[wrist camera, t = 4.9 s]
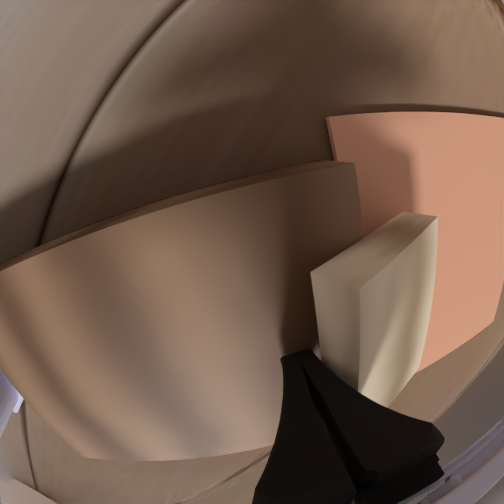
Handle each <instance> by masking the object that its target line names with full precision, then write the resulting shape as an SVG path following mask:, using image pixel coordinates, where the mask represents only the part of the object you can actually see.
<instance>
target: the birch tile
mask: <svg viewBox="0 0 504 504" xmlns="http://www.w3.org/2000/svg"><path fill="white" fill-rule="evenodd" d="M437 241H438V217H437V216H431V215H424V214H417V213H410V212H401V213H400V214H398V215H397V216H396V217H394V218H393V219H391V220H390V221H388V222H387V223H385V224H384V225H382V226H381V227H379V228H378V229H377V230H375V231H374V232H372V233H371V234H369V235H368V236H366V237H365V238H363V239H362V240H360V241H358V242H357V243H355V244H354V245H352V246H351V247H349V248H348V249H346V250H345V251H343V252H342V253H340V254H338V255H337V256H335V257H334V258H332V259H331V260H329V261H327V262H326V263H324V264H323V265H321V266H319V267H318V268H316V269H315V270H313V271H311V272H310V274H311V280H312V287H313V294H314V302H315V309H316V317H317V325H318V334H319V343H320V352H321V361H322V362H323V363H324V364H325V365H326V366H327V367H328V368H329V369H330V370H331V371H332V372H333V373H335V374H336V375H337V376H338V377H339V378H340V379H342V380H343V381H344V382H346V383H347V384H348V385H350V386H351V387H352V388H354V389H355V390H357V391H358V392H360V393H361V394H363V395H364V396H366V397H368V398H369V399H371V400H373V401H375V402H376V403H378V404H380V405H382V406H384V407H388V406H389V405H390V404H391V402H392V401H393V400H394V399H395V398H396V396H397V395H398V394H399V393H400V391H401V390H402V389H403V388H404V386H405V385H406V384H407V382H408V381H409V380H410V378H411V377H412V376H413V374H414V373H415V372H416V370H417V369H418V367H419V366H420V362H421V358H422V354H423V350H424V345H425V340H426V335H427V330H428V325H429V319H430V313H431V307H432V300H433V292H434V283H435V273H436V260H437Z"/></svg>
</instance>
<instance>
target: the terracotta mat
mask: <svg viewBox="0 0 504 504" xmlns="http://www.w3.org/2000/svg"><path fill="white" fill-rule="evenodd" d="M325 119H326V124H327V128H328V133H329V138H330V143H331V148H332V153H333V158H334V161H340V162H350V163H355V169H356V175H357V182H358V190H359V197H360V206H361V215H362V225H363V236H364V238H365V237H366V236H368V235H369V234H371V233H372V232H374V231H375V230H377V229H378V228H379V227H381V226H382V225H384V224H385V223H387V222H388V221H390V220H391V219H393V218H394V217H396V216H397V215H398V214H400V213H401V212H410V213H417V214H424V215H431V216H437V217H438V241H437V260H436V273H435V283H434V292H433V300H432V307H431V313H430V319H429V325H428V330H427V335H426V340H425V345H424V350H423V354H422V358H421V362H420V366H419V367H418V369H417V370H416V372H418V371H420V370H422V369H423V368H425V367H427V366H429V365H430V364H432V363H434V362H435V361H437V360H439V359H440V358H442V357H444V356H445V355H447V354H448V353H450V352H451V351H453V350H454V349H456V348H457V347H459V346H460V345H462V344H463V343H465V342H466V341H468V340H469V339H471V338H472V337H473V336H475V335H476V334H477V333H479V332H480V331H481V330H483V329H484V328H485V327H487V326H488V325H489V324H491V323H492V322H493V320H494V317H495V313H496V310H497V306H498V303H499V299H500V295H501V291H502V286H503V282H504V118H500V117H493V116H484V115H475V114H464V113H448V112H380V113H363V114H351V115H340V116H331V117H326V118H325ZM416 372H415V373H416Z"/></svg>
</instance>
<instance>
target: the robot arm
mask: <svg viewBox="0 0 504 504" xmlns="http://www.w3.org/2000/svg"><path fill="white" fill-rule="evenodd" d="M280 361H281V365H282V370H283V398H282V407H281V414H280V420H279V425H278V430H277V434H276V437H275V441H274V445H273V448H272V451H271V454H270V456H269V459H268V462H267V464H266V467H265V469H264V471H263V474H262V476H261V478H260V480H259V482H258V484H257V486H256V488H255V492H254V497H253V502H252V504H407V503H409V502H411V501H412V500H414V499H416V498H418V497H420V496H421V495H423V494H425V493H426V492H428V491H429V490H431V489H433V488H434V487H436V486H437V485H439V484H440V483H442V482H443V481H445V480H446V481H445V484H443V485H442V486H440V487H439V488H438V489H436V490H435V491H433V492H432V493H430V494H429V495H427V497H426V498H425V499H423V500H422V501H420V502H419V503H417V504H474V503H475V502H476V501H478V500H479V499H480V498H481V497H482V496H483V495H484V494H485V493H486V492H488V491H489V490H490V489H491V488H492V487H493V486H494V485H495V484H496V483H497V482H498V481H499V480H500V479H501V478H502V477H503V476H504V417H503V418H502V419H501V420H500V421H499V422H498V423H497V424H496V425H495V426H493V428H491V429H490V430H489V431H488V432H487V433H486V434H485V435H483V436H482V437H481V438H480V439H479V440H478V441H476V442H475V443H474V444H473V445H471V446H470V447H469V448H468V449H467V450H465V451H464V452H463V453H461V454H460V455H459V456H458V457H456V458H455V459H453V460H452V461H450V462H449V463H447V464H446V465H445V466H443V467H442V468H441V467H440V465H439V464H438V461H439V458H438V456H437V455H436V453H437V451H438V450H439V449H440V447H441V446H442V444H443V442H444V437H443V435H442V434H441V432H440V431H439V430H438V429H437V428H436V427H435V426H434V425H433V424H432V423H430V422H426V421H422V420H419V419H415V418H412V417H409V416H406V415H403V414H401V413H398V412H396V411H393V410H391V409H389V408H387V407H384V406H382V405H380V404H378V403H376V402H375V401H373V400H371V399H369V398H368V397H366V396H364V395H363V394H361V393H360V392H358V391H357V390H355V389H354V388H352V387H351V386H350V385H348V384H347V383H346V382H344V381H343V380H342V379H340V378H339V377H338V376H337V375H336V374H335V373H333V372H332V371H331V370H330V369H329V368H328V367H327V366H326V365H325V364H324V363H323V362H322V361H321V360H320V359H319V358H318V357H317V356H316V355H315V354H314V352H313V351H312V350H311V349H306V350H303V351H299V352H296V353H293V354H289V355H286V356H283V357H281V359H280ZM23 399H24V398H23V397H22V396H21V395H20V394H19V392H18V391H17V390H16V389H15V387H14V386H13V385H12V384H11V382H10V381H9V380H8V378H7V377H6V376H5V374H4V373H3V372H2V370H1V369H0V437H1V435H2V433H3V430H4V428H5V426H6V424H7V422H8V420H9V418H10V415H11V413H12V411H13V412H15V413H17V412H18V410H19V408H20V406H21V403H22V401H23ZM0 504H1V497H0Z"/></svg>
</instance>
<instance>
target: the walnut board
mask: <svg viewBox="0 0 504 504" xmlns="http://www.w3.org/2000/svg"><path fill="white" fill-rule="evenodd" d="M363 238H364V236H363V225H362V215H361V206H360V197H359V190H358V182H357V175H356V169H355V163H350V162H340V161H329V160H321V161H316V162H311V163H306V164H301V165H296V166H291V167H286V168H282V169H277V170H273V171H268V172H264V173H259V174H255V175H251V176H247V177H243V178H239V179H235V180H231V181H227V182H223V183H219V184H216V185H212V186H208V187H205V188H201V189H198V190H194V191H191V192H187V193H184V194H180V195H177V196H174V197H171V198H167V199H164V200H161V201H158V202H155V203H151V204H148V205H145V206H142V207H139V208H136V209H133V210H130V211H128V212H125V213H122V214H119V215H116V216H113V217H111V218H108V219H105V220H102V221H100V222H97V223H94V224H92V225H89V226H86V227H84V228H81V229H79V230H76V231H74V232H71V233H69V234H66V235H64V236H61V237H59V238H57V239H54V240H52V241H50V242H47V243H45V244H43V245H40V246H38V247H36V248H34V249H31V250H29V251H27V252H25V253H23V254H21V255H18V256H16V257H14V258H12V259H10V260H8V261H6V262H4V263H2V264H0V369H1V370H2V372H3V373H4V374H5V376H6V377H7V378H8V380H9V381H10V382H11V384H12V385H13V386H14V387H15V389H16V390H17V391H18V392H19V394H20V395H21V396H22V397H23V398H24V400H25V401H26V402H27V403H28V404H29V405H30V406H31V408H32V409H33V410H34V411H35V412H36V413H37V414H38V415H39V416H40V417H41V418H42V419H43V420H44V421H45V422H46V423H47V425H48V426H49V427H51V428H52V429H53V430H54V431H55V432H56V433H57V434H58V435H59V436H60V437H61V438H62V439H63V440H64V441H65V442H66V443H68V444H69V445H70V446H71V447H72V448H73V449H75V450H76V451H77V452H78V453H79V454H80V455H82V456H83V457H86V458H95V459H106V460H124V461H162V460H181V459H193V458H203V457H211V456H218V455H225V454H231V453H237V452H243V451H248V450H253V449H258V448H262V447H266V446H271V445H274V441H275V437H276V434H277V430H278V425H279V420H280V414H281V407H282V398H283V370H282V365H281V361H280V359H281V357H283V356H286V355H289V354H293V353H296V352H299V351H303V350H306V349H311V350H312V351H313V352H314V354H315V355H316V356H317V357H318V358H319V359H320V360H321V352H320V343H319V334H318V325H317V317H316V309H315V302H314V294H313V287H312V280H311V274H310V272H311V271H313V270H315V269H316V268H318V267H319V266H321V265H323V264H324V263H326V262H327V261H329V260H331V259H332V258H334V257H335V256H337V255H338V254H340V253H342V252H343V251H345V250H346V249H348V248H349V247H351V246H352V245H354V244H355V243H357V242H358V241H360V240H362V239H363Z"/></svg>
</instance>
